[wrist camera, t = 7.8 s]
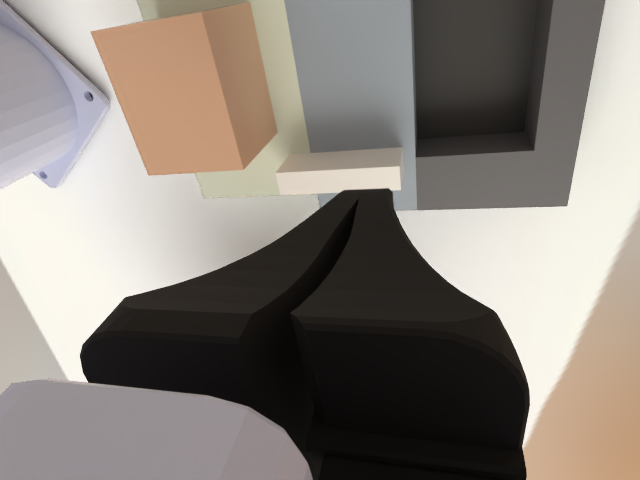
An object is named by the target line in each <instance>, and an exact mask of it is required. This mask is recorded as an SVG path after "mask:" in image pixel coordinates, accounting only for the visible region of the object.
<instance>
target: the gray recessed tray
mask: <svg viewBox="0 0 640 480" xmlns="http://www.w3.org/2000/svg"><path fill="white" fill-rule="evenodd" d="M284 2H285V8H286V14H287V20H288V26H289V32H290V37H291V43H292V49H293V55H294V60H295V66H296V72H297V77H298V83H299V89H300V95H301V101H302V106H303V112H304V118H305V124H306V130H307V135H308V141H309V147H310V153H320V152H335V151H350V150H365V149H380V148H395V147H403V162H404V172H403V179H402V186H401V190H395V191H392V192H393V201H394V210H395V211H401V210H440V209H478V208H517V207H556V206H567V204H568V199H569V194H570V188H571V183H572V177H573V172H574V167H575V161H576V156H577V150H578V145H579V139H580V134H581V129H582V123H583V118H584V112H585V107H586V102H587V96H588V91H589V85H590V80H591V75H592V69H593V64H594V58H595V53H596V48H597V42H598V37H599V31H600V26H601V21H602V15H603V10H604V4H605V0H284ZM337 194H339V193H318V199H319V205H320V208H321V207H323V206H324V205H325V204H326V203H327V202H329V201H330V200H331V199H332V198H334V197H335V196H336V195H337Z"/></svg>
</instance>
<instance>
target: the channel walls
mask: <svg viewBox="0 0 640 480" xmlns="http://www.w3.org/2000/svg"><path fill="white" fill-rule="evenodd" d="M403 172H404V162H403V147H395V148H380V149H365V150H350V151H335V152H320V153H305V154H290V155H288V157H287V158H286V159H285V161H284V162H283V163H282V165H281V166H280V167H279V169H278V170H277V171H276V173H275V174H276V178H277V183H278V187H279V192H280V195H293V194H318V193H340V192H341V191H343V190H357V189H381V188H389V189H390V190H391V191H395V190H401V186H402V179H403Z"/></svg>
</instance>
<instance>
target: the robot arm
mask: <svg viewBox="0 0 640 480" xmlns="http://www.w3.org/2000/svg"><path fill="white" fill-rule="evenodd" d="M89 92H90V93H91V94H92V95H93V98H91V96H90V94H89ZM109 108H110V103H109V100H108V98H107V97H106V96H105V95H104V94H103V93H102V92H101V91H100V90H99V89H97V88H96V87H95V86H94V85H93V84H92V83H91V82H90V81H89V80H88V79H87V78H86V77H85V76H83V75H82V74H81V73H80V72H79V71H78V70H77V69H76V68H75V67H74V66H73V65H72V64H71V63H69V62H68V61H67V60H66V59H65V58H64V57H63V56H62V55H61V54H60V53H59V52H58V51H56V50H55V49H54V48H53V47H52V46H51V45H50V44H49V43H48V42H47V41H46V40H45V39H44V38H42V37H41V36H40V35H39V34H38V33H37V32H36V31H35V30H34V29H33V28H32V27H31V26H29V25H28V24H27V23H26V22H25V21H24V20H23V19H22V18H21V17H20V16H19V15H18V14H17V13H15V12H14V11H13V10H12V9H11V8H10V7H9V6H8V5H7V4H6V3H5V2H4V1H3V0H0V189H2V188H4V187H6V186H8V185H10V184H12V183H14V182H16V181H18V180H19V179H21V178H23V177H25V176H27V175H29V174H31V173H33V174H34V175H36V176H37V177H38V178H39V179H41V180H42V181H43V182H44V183H45V184H47V185H48V186H49V187H52V188H57V187H59V186H60V185H61V184H62V183H63V181H64V180H65V178H66V177H67V175H68V173H69V172H70V170H71V169H72V167H73V165H74V164H75V162H76V161H77V159H78V158H79V156H80V154H81V153H82V151H83V150H84V148H85V146H86V145H87V143H88V142H89V140H90V139H91V137H92V135H93V134H94V132H95V131H96V129H97V127H98V126H99V124H100V123H101V121H102V120H103V118H104V116H105V115H106V113H107V112H108V110H109ZM80 359H81V364H82V369H83V373H84V375H85V377H86V379H87V381H88V383H86V382H77V381H67V380H58V379H40V380H33V381H26V382H19V383H13V384H11V385H10V386H9V387H8V388H7V389H6V390H5V391H4V392H3V393H2V394H1V395H0V480H526V477H527V476H526V467H525V461H524V455H523V450H522V444H523V439H524V433H525V428H526V423H527V417H528V412H529V406H530V397H529V387H528V383H527V379H526V376H525V373H524V370H523V367H522V365H521V362H520V360H519V357H518V355H517V352H516V350H515V348H514V346H513V343H512V341H511V339H510V337H509V335H508V333H507V331H506V330H505V328H504V326H503V324H502V322H501V320H500V318H499V317H498V315H497V313H496V312H495V311H493V310H492V309H490V308H489V307H487V306H485V305H483V304H482V303H480V302H478V301H476V300H475V299H473V298H471V297H469V296H468V295H466V294H464V293H462V292H461V291H459V290H458V289H457V288H455V287H454V286H453V285H451V284H450V283H448V282H447V281H446V280H445V279H444V278H443V277H442V276H441V275H440V274H438V273H437V272H436V271H435V270H434V269H433V268H432V267H431V266H430V265H429V264H428V263H427V262H426V261H425V259H424V258H423V257H422V256H421V255H420V253H419V252H418V251H417V250H416V248H415V247H414V246H413V244H412V243H411V241H410V240H409V238H408V236H407V235H406V233H405V231H404V230H403V228H402V226H401V224H400V222H399V219H398V217H397V215H396V212H395V210H394V201H393V192H392V191H391V190H390V189H389V188H381V189H357V190H343V191H341V192H340V193H339V194H337V195H336V196H335V197H334V198H332V199H331V200H330V201H329V202H327V203H326V204H325V205H324V206H323V207H321V208H320V209H319V210H317V211H316V212H315V213H314V214H312V215H311V216H310V217H309V218H307V219H306V220H305V221H303V222H302V223H301V224H299V225H298V226H296V227H295V228H294V229H292V230H291V231H289V232H288V233H287V234H285V235H284V236H282V237H281V238H279V239H277V240H276V241H274V242H273V243H271V244H269V245H267V246H266V247H264V248H262V249H260V250H258V251H257V252H255V253H253V254H251V255H249V256H247V257H244V258H242V259H240V260H238V261H236V262H233V263H231V264H229V265H227V266H225V267H222V268H220V269H218V270H215V271H213V272H210V273H207V274H205V275H202V276H199V277H196V278H193V279H190V280H187V281H184V282H181V283H178V284H175V285H171V286H168V287H164V288H160V289H156V290H152V291H149V292H145V293H141V294H137V295H133V296H129V297H126V298H124V299H123V301H122V302H121V303H120V304H119V305H118V306H117V307H116V308H115V309H114V311H113V312H112V313H111V314H110V315H109V316H108V317H107V318H106V319H105V321H104V322H103V323H102V324H101V325H100V326H99V327H98V328H97V329H96V331H95V332H94V333H93V334H92V335H91V336H90V337H89V338H88V339H87V341H86V342H85V343H84V344H83V346H82V350H81V354H80Z"/></svg>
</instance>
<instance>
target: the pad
mask: <svg viewBox="0 0 640 480" xmlns="http://www.w3.org/2000/svg"><path fill="white" fill-rule="evenodd" d="M137 2H138V5H139V8H140V11H141V14H142V17H143V20H144V21H146V20H151V19H156V18H161V17H167V16H173V15H178V14H184V13H190V12H195V11H201V10H207V9H212V8H218V7H224V6H229V5H235V4H241V3H246V2H250V4H251V9H252V13H253V18H254V23H255V28H256V32H257V37H258V42H259V47H260V51H261V56H262V61H263V66H264V70H265V75H266V80H267V84H268V89H269V94H270V99H271V103H272V108H273V113H274V118H275V122H276V127H277V132H278V133H277V134H276V135H275V136H274V137H273V138H272V139H271V140H270V142H269V143H268V144H267V145H266V146H265V147H264V148H263V149H262V150H261V151H260V153H259V154H258V155H257V156H256V157H255V158H254V159H253V160H252V161H251V162H250V163H249V165H248V166H247V167H246V168H245V169H244V170H234V171H217V172H199V173H195V174H196V177H197V180H198V183H199V186H200V189H201V192H202V195H203V198H224V197H250V196H276V195H280V192H279V187H278V183H277V178H276V174H275V173H276V171H277V170H278V169H279V167H280V166H281V165H282V163H283V162H284V161H285V159H286V158H287V157H288V155H290V154H305V153H310V147H309V141H308V135H307V130H306V124H305V118H304V112H303V106H302V101H301V95H300V89H299V83H298V77H297V72H296V66H295V60H294V55H293V49H292V43H291V37H290V32H289V26H288V20H287V14H286V8H285V2H284V0H137ZM293 195H302V194H293Z"/></svg>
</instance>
